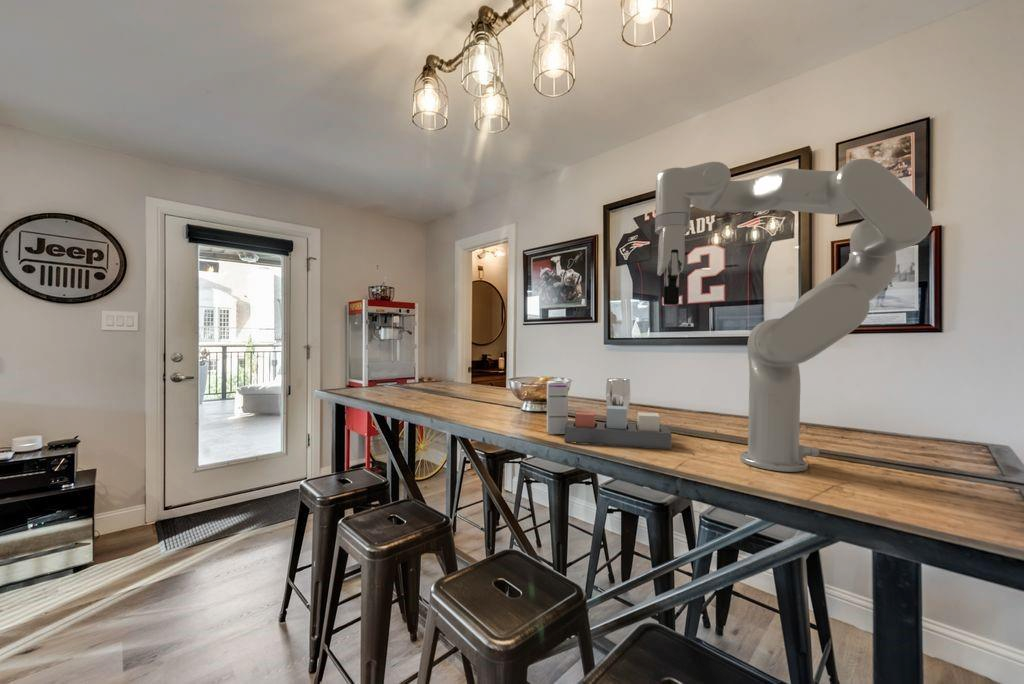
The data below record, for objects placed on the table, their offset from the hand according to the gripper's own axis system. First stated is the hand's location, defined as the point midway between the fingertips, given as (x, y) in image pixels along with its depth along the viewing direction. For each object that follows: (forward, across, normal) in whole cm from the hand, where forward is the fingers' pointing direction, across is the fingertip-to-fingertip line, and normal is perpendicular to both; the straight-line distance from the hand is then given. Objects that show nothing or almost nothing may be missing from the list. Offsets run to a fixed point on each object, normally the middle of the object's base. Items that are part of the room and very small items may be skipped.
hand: (671, 304), depth 99 cm
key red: (+33, -10, -20) cm, 40 cm away
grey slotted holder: (+35, -10, -12) cm, 38 cm away
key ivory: (+32, -10, -4) cm, 34 cm away
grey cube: (+31, -10, -12) cm, 35 cm away
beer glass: (+35, -24, -11) cm, 44 cm away
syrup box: (+35, -17, -28) cm, 48 cm away
